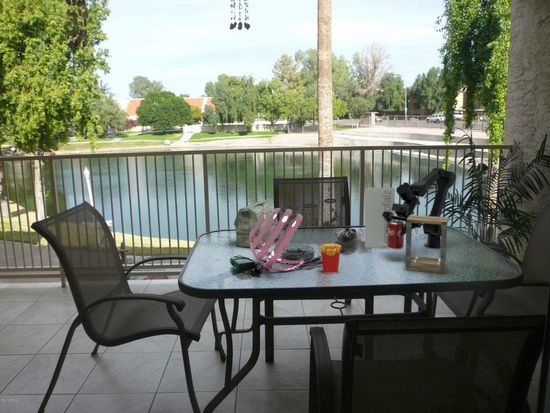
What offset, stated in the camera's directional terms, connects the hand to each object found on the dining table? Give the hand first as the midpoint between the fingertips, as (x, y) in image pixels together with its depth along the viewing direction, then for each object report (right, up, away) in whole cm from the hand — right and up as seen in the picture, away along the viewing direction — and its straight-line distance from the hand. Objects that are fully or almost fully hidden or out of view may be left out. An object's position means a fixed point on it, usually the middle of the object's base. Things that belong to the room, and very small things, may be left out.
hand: (393, 234), depth 206 cm
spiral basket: (-53, -15, -2) cm, 55 cm away
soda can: (+1, -6, +2) cm, 7 cm away
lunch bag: (-63, -7, +41) cm, 76 cm away
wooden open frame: (+12, -14, -8) cm, 20 cm away
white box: (-1, -8, +25) cm, 27 cm away
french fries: (-30, -15, -10) cm, 35 cm away
